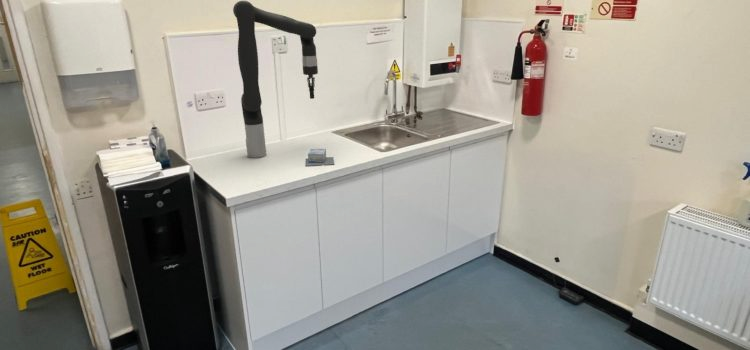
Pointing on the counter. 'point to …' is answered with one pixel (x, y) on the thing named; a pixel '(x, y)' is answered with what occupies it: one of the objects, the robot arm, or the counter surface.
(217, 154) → the counter surface
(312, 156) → the medicine box
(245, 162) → the counter surface
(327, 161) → the mat
